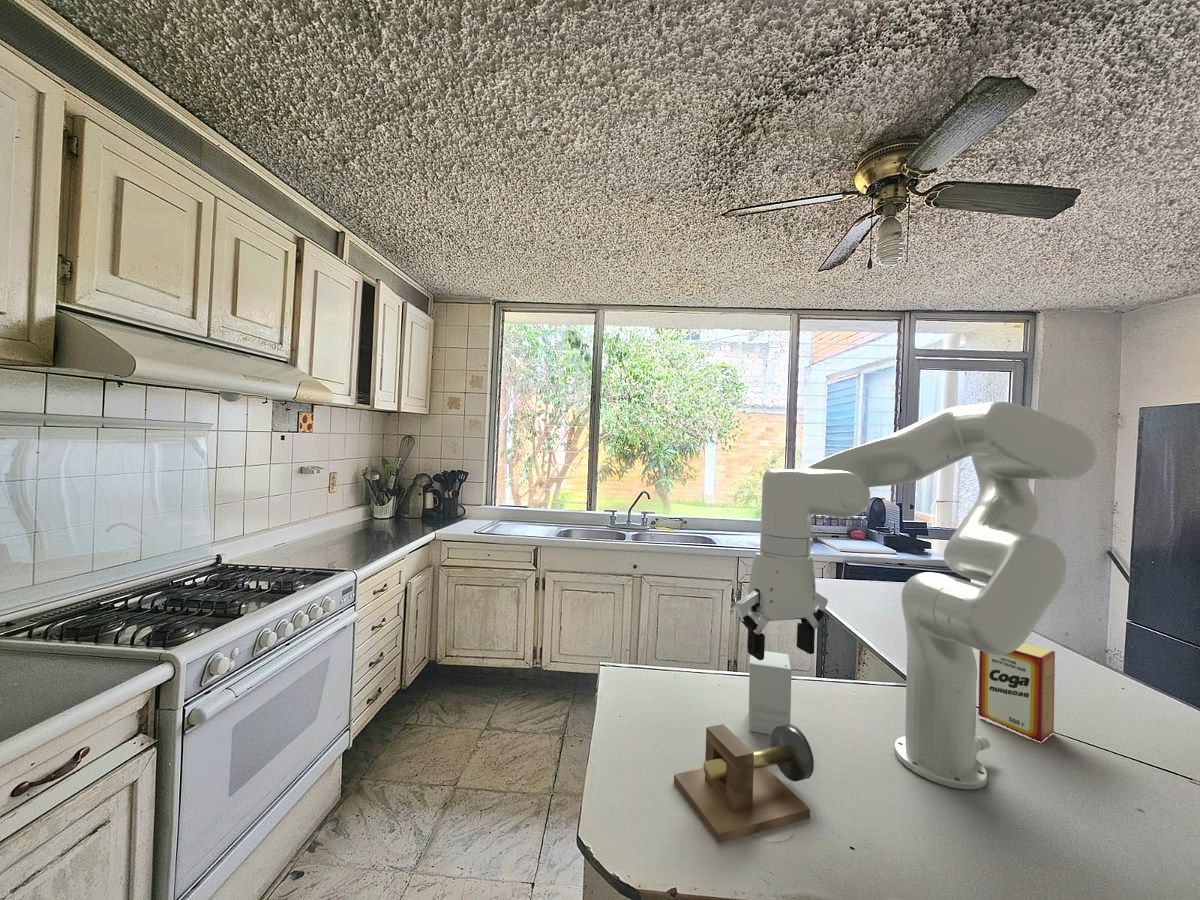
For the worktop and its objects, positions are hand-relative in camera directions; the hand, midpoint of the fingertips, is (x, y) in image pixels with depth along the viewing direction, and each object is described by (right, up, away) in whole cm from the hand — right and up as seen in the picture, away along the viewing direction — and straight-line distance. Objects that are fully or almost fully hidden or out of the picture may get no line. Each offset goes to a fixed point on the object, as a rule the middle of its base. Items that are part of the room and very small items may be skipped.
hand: (780, 653), depth 75 cm
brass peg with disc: (-6, -17, -5) cm, 19 cm away
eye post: (-8, -19, -6) cm, 21 cm away
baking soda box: (+52, -22, +17) cm, 59 cm away
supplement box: (+3, -20, +14) cm, 24 cm away
